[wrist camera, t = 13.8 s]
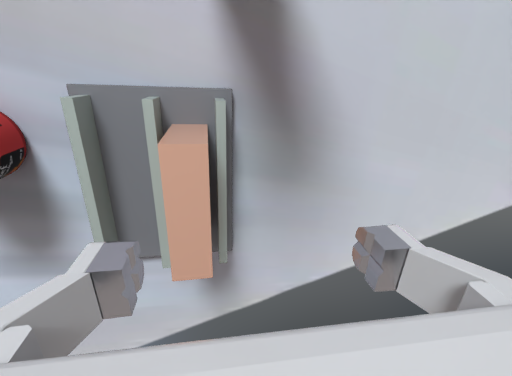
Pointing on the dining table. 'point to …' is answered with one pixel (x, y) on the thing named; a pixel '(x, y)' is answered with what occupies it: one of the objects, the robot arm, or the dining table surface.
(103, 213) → the slotted rail base
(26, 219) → the dining table surface
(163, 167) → the terracotta tile
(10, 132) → the canned food
